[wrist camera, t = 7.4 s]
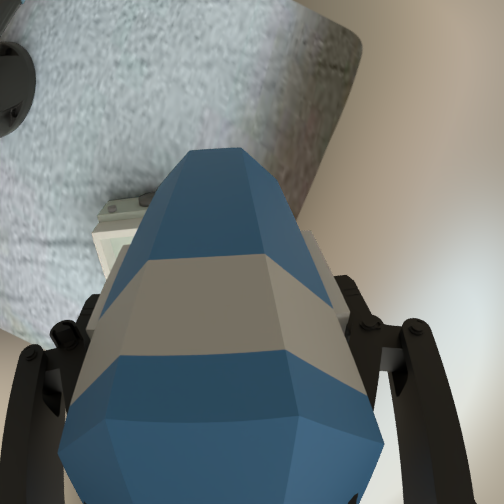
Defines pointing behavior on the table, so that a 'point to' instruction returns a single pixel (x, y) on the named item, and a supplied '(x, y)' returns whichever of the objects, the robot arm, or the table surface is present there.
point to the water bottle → (219, 358)
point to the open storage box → (118, 227)
